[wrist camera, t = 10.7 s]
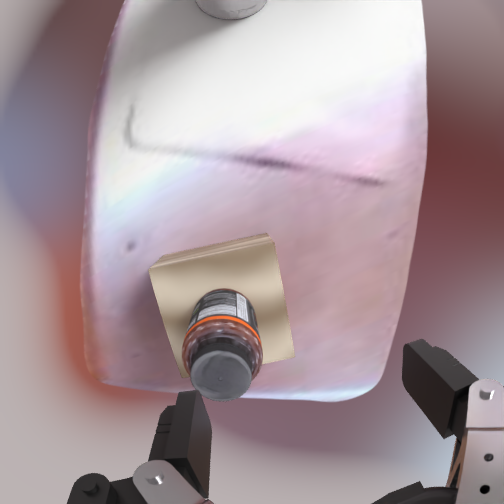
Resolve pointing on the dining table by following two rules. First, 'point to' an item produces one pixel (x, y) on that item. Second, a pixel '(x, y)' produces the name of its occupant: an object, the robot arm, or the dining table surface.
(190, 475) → the robot arm
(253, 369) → the supplement bottle
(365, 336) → the dining table surface
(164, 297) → the birch block
